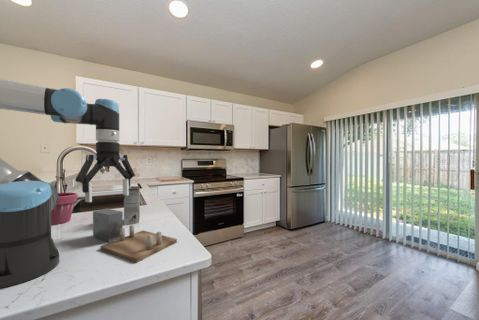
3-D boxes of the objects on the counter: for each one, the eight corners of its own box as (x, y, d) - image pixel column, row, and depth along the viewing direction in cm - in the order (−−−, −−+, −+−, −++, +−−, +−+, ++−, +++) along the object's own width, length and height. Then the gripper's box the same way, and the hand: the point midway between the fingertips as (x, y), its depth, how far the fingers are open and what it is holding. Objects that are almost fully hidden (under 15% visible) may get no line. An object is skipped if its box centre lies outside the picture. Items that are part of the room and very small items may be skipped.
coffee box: (125, 219, 99) (125, 186, 99) (139, 217, 102) (139, 185, 102) (123, 225, 91) (123, 189, 91) (139, 223, 93) (139, 188, 93)
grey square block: (108, 242, 72) (108, 214, 72) (93, 237, 77) (93, 211, 76) (122, 237, 77) (122, 211, 76) (106, 233, 81) (106, 208, 81)
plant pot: (73, 215, 104) (73, 191, 104) (80, 221, 95) (80, 194, 95) (33, 222, 93) (33, 194, 93) (38, 229, 84) (38, 199, 84)
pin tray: (136, 262, 59) (136, 244, 59) (100, 249, 67) (100, 233, 67) (176, 242, 73) (176, 227, 73) (142, 233, 81) (142, 220, 81)
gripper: (74, 139, 63) (75, 206, 64) (143, 143, 86) (144, 193, 86) (62, 139, 67) (63, 203, 67) (132, 143, 89) (132, 192, 89)
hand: (108, 198), depth 77 cm, fingers open, 13 cm apart
